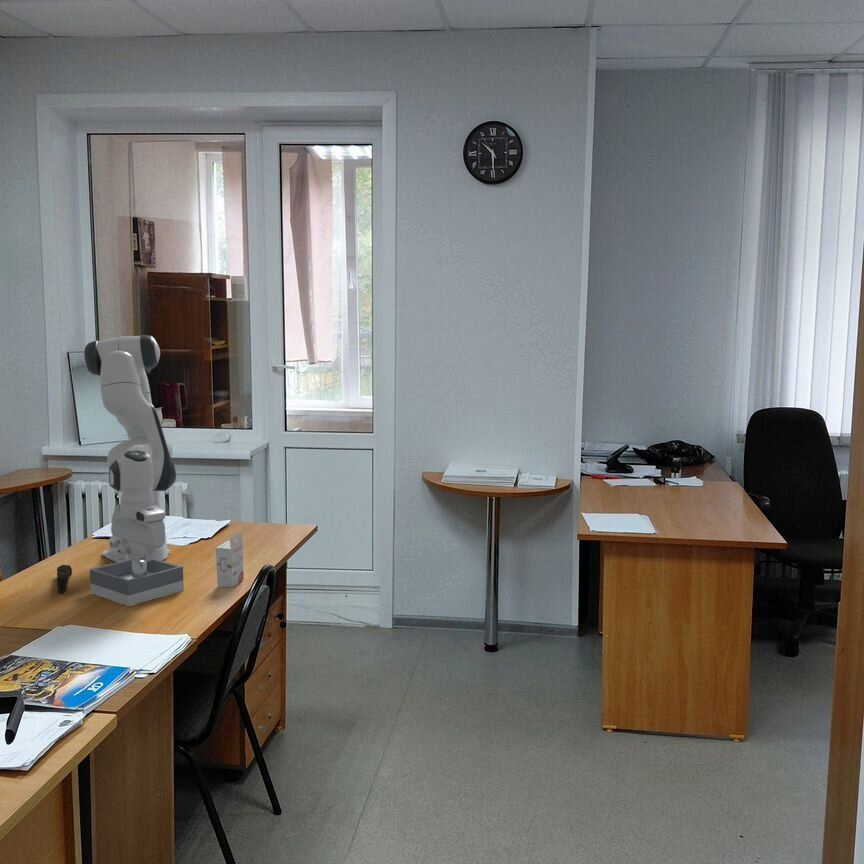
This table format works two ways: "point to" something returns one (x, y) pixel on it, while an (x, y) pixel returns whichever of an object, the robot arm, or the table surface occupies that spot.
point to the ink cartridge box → (230, 562)
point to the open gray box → (136, 581)
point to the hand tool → (63, 578)
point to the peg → (139, 568)
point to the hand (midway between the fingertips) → (137, 557)
